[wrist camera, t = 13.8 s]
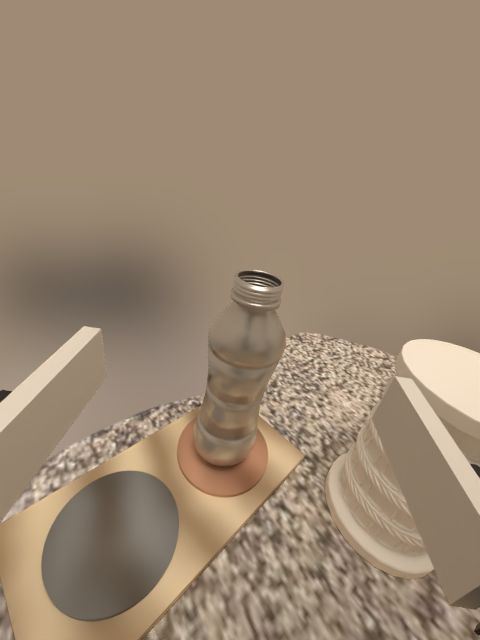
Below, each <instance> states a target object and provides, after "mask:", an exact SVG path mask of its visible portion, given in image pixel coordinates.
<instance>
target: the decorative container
mask: <svg viewBox="0 0 480 640" xmlns="http://www.w3.org/2000/svg"><path fill="white" fill-rule="evenodd" d="M395 368H396V372H397V375H395V376H397V377H403V378H409V379H412V380H413V381H414V382H415V384H416V385H417V387H418V388H419V390H420V391H421V393H422V394H423V396H424V397H425V399H426V400H427V402H428V403H429V405H430V406H431V408H432V409H433V410H434V412H435V413H436V415H437V416H438V418H439V419H440V421H441V422H442V424H443V425H444V427H445V428H446V430H447V431H448V433H449V434H450V436H451V437H452V438H453V440H454V441H455V443H456V444H457V446H458V447H459V449H460V450H461V452H462V453H463V455H464V456H465V458H466V459H467V461H468V462H469V464H476V465H478V466H479V467H480V353H477V352H475V351H472V350H469V349H467V348H464V347H460V346H457V345H454V344H451V343H447V342H442V341H437V340H428V339H418V340H412V341H409V342H408V343H406V344H405V345H403V347H402V349H401V351H400V353H399V354H398V356H397V358H396V361H395ZM395 376H394V377H395ZM394 377H393V378H391V379H390V380H389V381H388V383H387V384H386V386H385V390H384V394H383V397H384V395H385V393H386V392H387V390H388V388H389V386H390V384H391V383H392V381H393V379H394ZM381 401H382V400H381ZM381 401H379V402H378V403H377V404H376V405H375V406H374V407H373V409H372V410H371V413H370V418H369V422H368V423H366V424H365V425H364V426H363V427H362V428H361V430H360V431H359V433H358V436H357V441H356V443H355V444H353V445H352V446H351V447H350V449H349V451H348V452H347V453H345V454H342V455H340V456H339V457H338V458H337V459H336V460H335V461H334V462H333V464H332V466H331V468H330V470H329V472H328V474H327V476H326V481H325V495H326V501H327V506H328V508H329V511H330V513H331V516H332V518H333V521H334V523H335V524H336V526H337V528H338V529H339V531H340V532H341V534H342V536H343V537H344V539H345V540H346V541H347V542H348V543H349V544H350V545H351V546H352V548H353V549H354V550H355V551H356V552H357V553H358V554H359V555H360V556H361V557H363V558H364V559H365V560H366V561H368V562H369V563H370V564H372V565H373V566H374V567H375V568H377V569H379V570H382V571H384V572H386V573H388V574H390V575H392V576H395V577H400V578H405V579H415V578H421V577H425V576H426V575H427V574H428V573H430V572H431V571H432V570H434V567H433V565H432V562H431V560H430V558H429V555H428V553H427V550H426V548H425V546H424V543H423V541H422V538H421V536H420V534H419V531H418V529H417V526H416V524H415V522H414V519H413V517H412V514H411V512H410V510H409V507H408V505H407V502H406V500H405V498H404V495H403V493H402V490H401V488H400V486H399V483H398V481H397V478H396V476H395V474H394V471H393V469H392V466H391V464H390V462H389V459H388V457H387V454H386V452H385V450H384V447H383V445H382V442H381V440H380V438H379V435H378V433H377V430H376V428H375V426H374V423H373V421H372V417H373V415H374V413H375V411H376V410H377V408H378V406H379V404H380V402H381Z"/></svg>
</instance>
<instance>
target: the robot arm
mask: <svg viewBox="0 0 480 640" xmlns="http://www.w3.org/2000/svg"><path fill="white" fill-rule="evenodd" d="M106 377H107V370H106V363H105V356H104V348H103V340H102V332H101V329H98V328H91V327H85V326H84V327H83V328H82V329H80V330H79V331H78V332H77V333H76V334H75V335H74V336H73V337H72V338H71V339H70V340H68V341H67V342H66V343H65V344H64V345H63V346H62V347H61V348H60V349H58V350H57V351H56V353H54V354H53V355H52V356H51V357H50V358H49V359H48V360H47V361H45V362H44V363H43V364H42V365H41V366H40V367H39V368H38V369H37V370H36V371H34V373H32V374H31V375H30V376H29V377H28V378H27V379H26V380H25V381H23V383H21V384H20V385H19V386H18V387H17V388H16V389H15V390H14V391H13V392H12V391H6V390H1V391H0V523H1V521H2V520H3V518H4V517H5V516H6V514H7V513H8V512H9V510H10V509H11V507H12V506H13V505H14V503H15V502H16V501H17V499H18V498H19V497H20V495H21V494H22V492H23V491H24V490H25V488H26V487H27V486H28V484H29V483H30V481H31V480H32V479H33V477H34V476H35V475H36V473H37V472H38V471H39V469H40V468H41V466H42V465H43V464H44V462H45V461H46V460H47V458H48V457H49V455H50V454H51V453H52V451H53V450H54V448H55V447H56V446H57V444H58V443H59V442H60V440H61V439H62V438H63V436H64V435H65V433H66V432H67V430H68V429H69V428H70V427H71V425H72V424H73V423H74V421H75V420H76V418H77V417H78V416H79V414H80V413H81V411H82V410H83V409H84V408H85V406H86V405H87V403H88V402H89V401H90V399H91V398H92V396H93V395H94V394H95V392H96V391H97V390H98V388H99V387H100V386H101V384H102V383H103V381H104V380H105V379H106ZM372 421H373V423H374V426H375V428H376V430H377V433H378V435H379V438H380V440H381V442H382V445H383V447H384V450H385V452H386V454H387V457H388V459H389V462H390V464H391V466H392V469H393V471H394V474H395V476H396V478H397V481H398V483H399V486H400V488H401V490H402V493H403V495H404V498H405V500H406V502H407V505H408V507H409V510H410V512H411V514H412V517H413V519H414V522H415V524H416V526H417V529H418V531H419V534H420V536H421V538H422V541H423V543H424V546H425V548H426V550H427V553H428V555H429V558H430V560H431V562H432V565H433V567H434V570H435V572H436V574H437V577H438V579H439V582H440V584H441V586H442V589H443V591H444V594H445V596H446V598H447V601H448V603H449V605H451V606H457V607H463V608H470V609H477V608H479V607H480V467H479V466H478V465H476V464H469V462H468V461H467V459H466V458H465V456H464V455H463V453H462V452H461V450H460V449H459V447H458V446H457V444H456V443H455V441H454V440H453V438H452V437H451V436H450V434H449V433H448V431H447V430H446V428H445V427H444V425H443V424H442V422H441V421H440V419H439V418H438V416H437V415H436V413H435V412H434V410H433V409H432V408H431V406H430V405H429V403H428V402H427V400H426V399H425V397H424V396H423V394H422V393H421V391H420V390H419V388H418V387H417V385H416V384H415V382H414V381H413V380H412V379H409V378H403V377H397V376H395V377H394V379H393V381H392V383H391V384H390V386H389V388H388V390H387V392H386V393H385V395H384V397H383V399H382V401H381V402H380V404H379V406H378V408H377V410H376V411H375V413H374V415H373V417H372ZM474 632H475V633H476V634H478V635H480V623H479V624H478V625H477V626H476V628H475V630H474Z"/></svg>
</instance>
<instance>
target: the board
mask: <svg viewBox="0 0 480 640" xmlns="http://www.w3.org/2000/svg"><path fill="white" fill-rule="evenodd" d="M201 406H202V405H201ZM201 406H199V407H198V408H196V409H194V410H192V411H191V412H189V413H187V414H186V415H184V416H182V417H181V418H179V419H177V420H176V421H174V422H172V423H170V424H169V425H167V426H165V427H164V428H162V429H160V430H159V431H157V432H155V433H154V434H152V435H150V436H149V437H147V438H145V439H143V440H142V441H140V442H138V443H137V444H135V445H133V446H132V447H130V448H128V449H127V450H125V451H123V452H121V453H120V454H118V455H116V456H115V457H113V458H111V459H110V460H108V461H106V462H105V463H103V464H101V465H99V466H98V467H96V468H94V469H93V470H91V471H89V472H88V473H86V474H84V475H83V476H81V477H79V478H77V479H76V480H74V481H72V482H71V483H69V484H67V485H66V486H64V487H62V488H61V489H59V490H57V491H55V492H54V493H52V494H50V495H49V496H47V497H45V498H44V499H42V500H40V501H39V502H37V503H35V504H33V505H32V506H30V507H28V508H27V509H25V510H23V511H22V512H20V513H18V514H17V515H15V516H13V517H11V518H10V519H8V520H6V521H5V522H3V523H1V524H0V579H1V583H2V587H3V591H4V595H5V599H6V603H7V607H8V612H9V616H10V620H11V624H12V628H13V632H14V636H15V640H142V639H143V638H144V637H145V636H146V635H147V633H148V632H149V631H150V630H151V629H152V628H153V627H154V626H155V625H156V623H157V622H158V621H159V620H160V619H161V618H162V617H163V616H164V615H165V613H166V612H167V611H168V610H169V609H170V608H171V607H172V606H173V604H174V603H175V602H176V601H177V600H178V599H179V598H180V597H181V596H182V594H183V593H184V592H185V591H186V590H187V589H188V588H189V587H190V586H191V584H192V583H193V582H194V581H195V580H196V579H197V578H198V577H199V575H200V574H201V573H202V572H203V571H204V570H205V569H206V568H207V567H208V565H209V564H210V563H211V562H212V561H213V560H214V559H215V558H216V556H217V555H218V554H219V553H220V552H221V551H222V550H223V549H224V548H225V546H226V545H227V544H228V543H229V542H230V541H231V540H232V539H233V538H234V536H235V535H236V534H237V533H238V532H239V531H240V530H241V529H242V527H243V526H244V525H245V524H246V523H247V522H248V521H249V520H250V519H251V517H252V516H253V515H254V514H255V513H256V512H257V511H258V510H259V509H260V507H261V506H262V505H263V504H264V503H265V502H266V501H267V500H268V498H269V497H270V496H271V495H272V494H273V493H274V492H275V491H276V490H277V488H278V487H279V486H280V485H281V484H282V483H283V482H284V481H285V480H286V478H287V477H288V476H289V475H290V474H291V473H292V472H293V471H294V469H295V468H296V467H297V466H298V465H299V464H300V463H301V462H302V461H303V458H304V456H305V455H304V454H303V453H302V452H300V451H299V450H298V449H297V448H296V447H295V446H293V445H292V444H291V443H290V442H289V441H288V440H286V439H285V438H284V437H283V436H282V435H281V434H280V433H278V432H277V431H276V430H275V429H274V428H273V427H271V426H270V425H269V424H268V423H267V422H266V421H264V420H263V419H262V418H261V417H260V416H259V415H258V419H257V435H256V442H255V444H254V446H253V448H252V450H251V451H250V453H249V454H248V456H247V457H246V458H245V459H244V460H243V461H241V462H239V463H238V464H235V465H231V466H217V465H214V464H212V463H209V462H208V461H206V460H205V459H203V458H202V457H201V456H200V455H199V453H198V452H197V450H196V448H195V445H194V437H193V427H194V424H195V421H196V418H197V415H198V413H199V411H200V409H201Z"/></svg>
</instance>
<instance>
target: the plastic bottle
mask: <svg viewBox="0 0 480 640" xmlns="http://www.w3.org/2000/svg"><path fill="white" fill-rule="evenodd" d="M282 290H283V281H282V280H281V279H280V278H279V277H277V276H275V275H273V274H270V273H267V272H264V271H259V270H241V271H238V272H237V273H236V275H235V280H234V286H233V289H232V291H231V298H232V300H233V302H232V303H231V304H230V305H228V306H227V307H226V308H225V309H224V310H223V311H222V312H221V313H220V314H219V315H218V316H217V317H216V318H215V320H214V322H213V323H212V325H211V327H210V329H209V336H208V362H209V365H208V366H209V369H208V378H207V389H206V393H205V396H204V399H203V403H202V406H201V409H200V411H199V413H198V415H197V418H196V421H195V424H194V427H193V437H194V445H195V448H196V450H197V452H198V453H199V455H200V456H201V457H202V458H203V459H205V460H206V461H208V462H209V463H212V464H214V465H217V466H231V465H235V464H238V463H239V462H241V461H243V460H244V459H245V458H246V457H247V456H248V454H249V453H250V451H251V450H252V448H253V446H254V444H255V442H256V435H257V419H258V414H259V409H260V404H261V400H262V398H263V395H264V392H265V390H266V387H267V385H268V382H269V380H270V378H271V376H272V374H273V372H274V370H275V368H276V366H277V364H278V362H279V360H280V359H281V357H282V354H283V352H284V349H285V345H286V340H285V331H284V329H283V326H282V323H281V321H280V319H279V317H278V315H277V313H276V311H275V309H277V308H279V306H280V303H281V293H282Z"/></svg>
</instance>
